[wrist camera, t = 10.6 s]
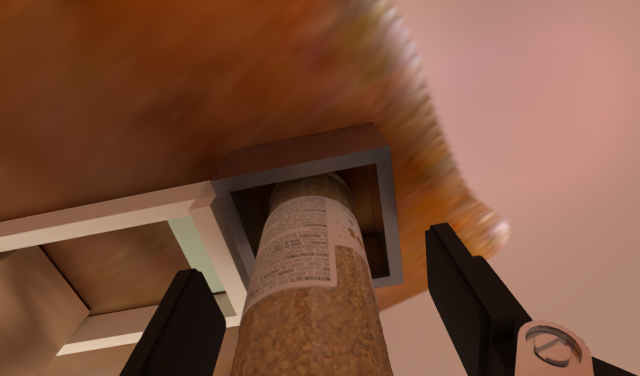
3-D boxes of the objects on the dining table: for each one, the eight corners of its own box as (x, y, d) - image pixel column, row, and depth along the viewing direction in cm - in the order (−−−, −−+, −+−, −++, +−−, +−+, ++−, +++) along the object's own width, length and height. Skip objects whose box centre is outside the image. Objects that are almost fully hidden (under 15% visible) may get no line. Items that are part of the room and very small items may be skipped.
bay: (-130, 247, 17) (-212, 287, 14) (226, 176, 16) (209, 205, 13) (-23, 345, 21) (-72, 390, 18) (271, 294, 20) (265, 335, 17)
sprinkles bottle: (358, 226, 17) (465, 649, 5) (281, 241, 18) (222, 671, 6) (344, 153, 15) (467, 571, 3) (258, 171, 16) (89, 614, 4)
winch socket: (230, 151, 15) (209, 181, 12) (372, 122, 15) (389, 145, 12) (269, 261, 18) (261, 307, 15) (387, 240, 18) (403, 283, 15)
